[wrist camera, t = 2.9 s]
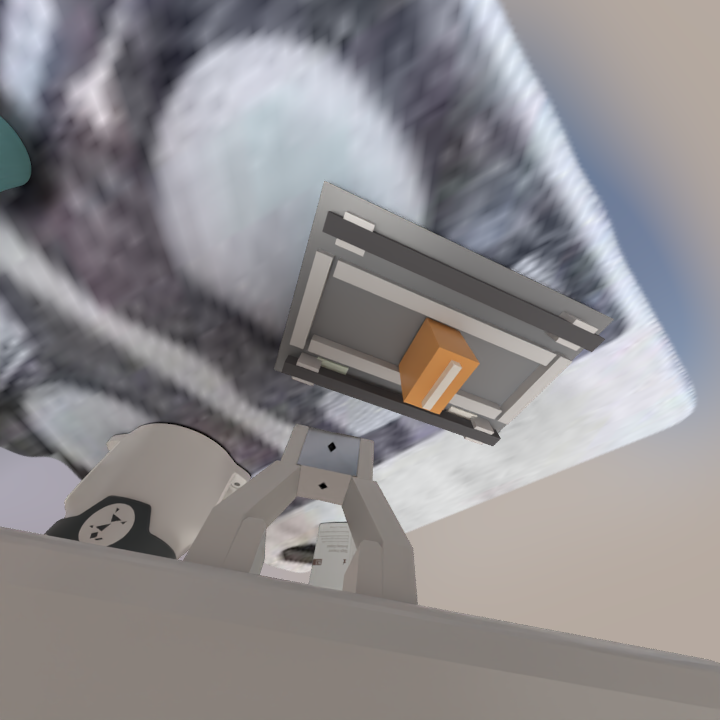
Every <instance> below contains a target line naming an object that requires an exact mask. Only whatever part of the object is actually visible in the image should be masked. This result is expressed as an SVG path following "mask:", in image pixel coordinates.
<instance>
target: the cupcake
mask: <svg viewBox="0 0 720 720" xmlns="http://www.w3.org/2000/svg"><path fill="white" fill-rule="evenodd" d="M30 176H31V162H30V158H29V155H28V153H27V150H26V148H25V146H24V144H23V143H22V141H21V139H20V138H19V136H18V135H17V134H16V132H15V131H14V130H13V128H12V127H11V126H10V125H9V124H8V123H7V122H6V121H5V120H4V119H3V118H2V117H1V116H0V192H2V191H4V190H7V189H11V188H14V187H18V186H22V185H24V184H25V183H26V182H28V180H29V178H30Z"/></svg>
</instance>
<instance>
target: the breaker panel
mask: <svg viewBox="0 0 720 720" xmlns="http://www.w3.org/2000/svg"><path fill="white" fill-rule="evenodd" d="M329 211H332V212H334V213H336V214H338V215H340V216H343V217H344V218H343V219H345V220H348V221H350V222H352V223H354V224H356V225H358V226H361V227H363V228H365V229H367V230H369V231H371V232H373V231H375V232H377V233H379V234H382V235H384V236H386V237H388V238H390V239H392V240H395V241H397V242H399V243H401V244H403V245H405V246H408V247H410V248H412V249H414V250H416V251H418V252H421V253H423V254H425V255H427V256H429V257H431V258H434V259H436V260H438V261H440V262H442V263H444V264H447V265H449V266H451V267H453V268H455V269H457V270H460V271H462V272H464V273H466V274H468V275H470V276H473V277H475V278H477V279H479V280H481V281H483V282H486V283H488V284H490V285H492V286H494V287H496V288H499V289H501V290H503V291H505V292H507V293H509V294H512V295H514V296H516V297H518V298H520V299H522V300H525V301H527V302H529V303H531V304H533V305H535V306H538V307H540V308H542V309H544V310H546V311H548V312H551V313H553V314H555V315H557V316H559V317H561V318H563V319H565V320H567V321H568V322H570V323H572V324H573V325H576V326H578V327H580V328H582V329H584V330H586V331H589V332H591V333H593V334H594V333H596V334H597V335H599V334H600V333H601V332H602V331H603V330H604V329H605V328H606V327H607V326H608V325H609V324H610V323H611V322H612V321H613V320H614V319H612V318H610V317H608V316H606V315H604V314H602V313H600V312H598V311H596V310H594V309H592V308H590V307H588V306H586V305H583V304H581V303H579V302H577V301H575V300H573V299H571V298H569V297H567V296H565V295H563V294H560V293H558V292H556V291H554V290H552V289H550V288H548V287H546V286H544V285H542V284H540V283H537V282H535V281H533V280H531V279H529V278H527V277H525V276H523V275H521V274H519V273H517V272H514V271H512V270H510V269H508V268H506V267H504V266H502V265H500V264H498V263H496V262H494V261H492V260H489V259H487V258H485V257H483V256H481V255H479V254H477V253H475V252H473V251H471V250H469V249H466V248H464V247H462V246H460V245H458V244H456V243H454V242H452V241H450V240H448V239H446V238H443V237H441V236H439V235H437V234H435V233H433V232H431V231H429V230H427V229H425V228H423V227H420V226H418V225H416V224H414V223H412V222H410V221H408V220H406V219H404V218H402V217H400V216H398V215H395V214H393V213H391V212H389V211H387V210H385V209H383V208H381V207H379V206H377V205H375V204H372V203H370V202H368V201H366V200H364V199H362V198H360V197H358V196H356V195H354V194H352V193H349V192H347V191H345V190H343V189H341V188H339V187H337V186H335V185H333V184H331V183H328V182H326V181H324V184H323V188H322V191H321V195H320V199H319V203H318V206H317V210H316V214H315V218H314V221H313V225H312V229H311V233H310V236H309V240H308V244H307V248H306V251H305V255H304V259H303V263H302V266H301V270H300V274H299V277H298V281H297V285H296V289H295V292H294V296H293V300H292V304H291V307H290V311H289V315H288V319H287V322H286V326H285V330H284V334H283V337H282V341H281V345H280V349H279V352H278V356H277V360H276V364H275V367H274V370H276V371H279V372H282V369H283V365H284V362H285V360H286V358H287V357H288V355H291V356H294V357H297V358H299V359H298V361H297V364H296V365H297V366H300V367H303V368H306V369H309V370H311V371H314V372H317V373H318V372H319V369H320V366H322V367H324V368H327V369H330V370H333V371H335V372H338V373H341V374H344V375H346V376H349V377H352V378H355V379H357V380H360V381H363V382H366V383H368V384H371V385H374V386H377V387H380V388H382V389H385V390H388V391H391V392H393V393H396V394H399V395H402V387H401V379H400V372H399V364H400V362H401V360H402V358H403V357H404V355H405V353H406V352H407V350H408V348H409V346H410V345H411V343H412V341H413V340H414V338H415V336H416V335H417V333H418V331H419V329H420V328H421V326H422V324H423V323H424V321H425V319H426V317H427V318H430V319H432V320H434V321H437V322H439V323H442V324H444V325H446V326H449V327H451V328H453V329H456V330H458V331H459V332H460V333H461V335H462V336H463V338H464V339H465V341H466V343H467V344H468V346H469V347H470V349H471V350H472V352H473V354H474V355H475V357H476V358H477V360H478V361H479V363H480V364H479V365H478V366H477V368H476V369H475V370H474V371H473V373H472V374H471V375H470V376H469V378H468V379H467V380H466V381H465V383H464V384H463V385H462V386H461V388H460V389H459V390H458V392H457V393H456V394H455V395H454V397H453V398H452V399H451V400H450V402H449V403H448V404H447V405H446V407H445V408H444V409H443V411H446V412H449V413H451V414H454V415H457V416H460V417H462V418H465V419H468V420H471V422H472V425H473V427H474V429H476V430H479V431H482V432H485V433H488V434H490V435H492V434H493V433H494V431H493V429H496V431H497V433H498V432H499V431H500V430H501V429H502V428H503V427H505V426H506V425H508V424H509V423H510V422H511V421H512V420H513V419H514V418H515V417H516V416H517V415H518V414H519V413H520V412H521V411H522V410H523V409H524V408H526V407H527V406H528V405H529V404H530V403H531V402H532V401H533V400H534V399H535V398H536V397H537V396H538V395H539V394H540V393H541V392H542V391H543V390H544V389H545V388H546V387H547V386H548V385H549V384H550V383H551V382H552V381H553V380H554V379H555V378H556V377H557V376H558V375H559V374H560V373H561V372H562V371H564V370H565V369H566V368H567V367H568V366H569V365H570V364H571V363H572V360H573V359H574V358H575V357H576V356H577V355H578V354H579V353H580V352H581V351H582V350H583V349H584V348H582V347H580V346H577V345H575V344H573V343H571V342H568V341H566V340H564V339H562V338H559V337H557V336H555V335H553V334H550V333H548V332H546V331H544V330H541V329H539V328H537V327H535V326H533V325H530V324H528V323H526V322H524V321H521V320H519V319H517V318H515V317H512V316H510V315H508V314H506V313H503V312H501V311H499V310H497V309H494V308H492V307H490V306H488V305H485V304H483V303H481V302H479V301H476V300H474V299H472V298H470V297H468V296H465V295H463V294H461V293H459V292H456V291H454V290H452V289H450V288H447V287H445V286H443V285H441V284H438V283H436V282H434V281H432V280H429V279H427V278H425V277H423V276H420V275H418V274H416V273H414V272H412V271H409V270H407V269H405V268H403V267H400V266H398V265H396V264H394V263H391V262H389V261H387V260H385V259H382V258H380V257H378V256H376V255H373V254H371V253H369V252H367V251H364V250H362V249H360V248H358V247H355V246H353V245H351V244H349V243H347V242H344V241H342V240H340V239H338V238H335V237H333V236H331V235H329V234H326V233H324V232H322V230H323V227H324V223H325V220H326V217H327V213H328V212H329ZM290 376H291V375H290ZM292 379H294V380H297V381H300V382H302V383H305V384H308V385H311V386H313V385H314V383H311V382H308V381H305V380H302V379H299V378H297V377H294V376H292ZM316 385H317V384H316ZM333 391H334V390H333ZM336 392H337V391H336ZM402 396H403V395H402ZM353 398H354V397H353ZM356 399H357V398H356ZM373 405H374V404H373ZM376 406H377V405H376ZM393 412H394V411H393ZM396 413H397V412H396ZM413 419H414V418H413ZM416 420H417V419H416ZM419 421H420V420H419ZM433 426H434V425H433ZM436 427H437V426H436ZM439 428H440V427H439ZM492 428H493V429H492ZM456 434H457V433H456ZM459 435H460V434H459ZM464 438H465V439H466V440H469V441H472V442H475V443H478V444H481V445H482V444H483V443H482V442H480V441H477V440H474V439H471V438H468V437H465V436H464Z"/></svg>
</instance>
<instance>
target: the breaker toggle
mask: <svg viewBox="0 0 720 720" xmlns="http://www.w3.org/2000/svg"><path fill="white" fill-rule="evenodd" d="M479 364H480V363H479V361H478V360H477V358H476V357H475V355H474V354H473V352H472V350H471V349H470V347H469V346H468V344H467V343H466V341H465V339H464V338H463V336H462V335H461V333H460V332H459V331H458V330H456V329H453V328H451V327H449V326H446V325H444V324H442V323H439V322H437V321H434V320H432V319H430V318H427V317H426V319H425V321H424V323H423V324H422V326H421V328H420V329H419V331H418V333H417V335H416V336H415V338H414V340H413V341H412V343H411V345H410V346H409V348H408V350H407V352H406V353H405V355H404V357H403V358H402V360H401V362H400V364H399V372H400V379H401V387H402V395H403V402H406V403H408V404H411V405H414V406H417V407H420V408H422V409H425V410H428V411H431V412H433V413H436V414H440V413H441V412H442V410H443V409H444V408H445V407H446V405H447V404H448V403H449V402H450V400H451V399H452V398H453V397H454V395H455V394H456V393H457V392H458V390H459V389H460V388H461V386H462V385H463V384H464V383H465V381H466V380H467V379H468V378H469V376H470V375H471V374H472V373H473V371H474V370H475V369H476V368H477V366H478V365H479Z"/></svg>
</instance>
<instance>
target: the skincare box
mask: <svg viewBox="0 0 720 720" xmlns="http://www.w3.org/2000/svg"><path fill="white" fill-rule="evenodd" d="M356 551H357V549H356V546H355V543H354V541H353V538H352V535H351V532H350V529H349V526H348V523H323V524H321V525H320V526H319V532H318V537H317V542H316V548H315V553H314V558H313V564H312V569H311V574H310V580H309V585H315V586H320V587H325V588H331V589H336V590H341V591H342V589H343V581H344V574H345V572H346V570H347V568H348V566H349V564H350V562H351V560H352V558H353V556H354V554H355V552H356Z"/></svg>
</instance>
